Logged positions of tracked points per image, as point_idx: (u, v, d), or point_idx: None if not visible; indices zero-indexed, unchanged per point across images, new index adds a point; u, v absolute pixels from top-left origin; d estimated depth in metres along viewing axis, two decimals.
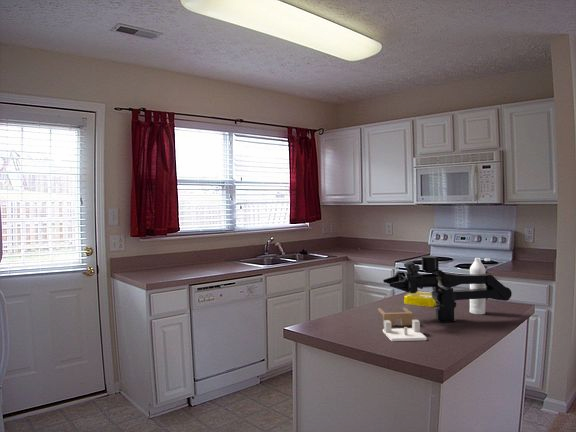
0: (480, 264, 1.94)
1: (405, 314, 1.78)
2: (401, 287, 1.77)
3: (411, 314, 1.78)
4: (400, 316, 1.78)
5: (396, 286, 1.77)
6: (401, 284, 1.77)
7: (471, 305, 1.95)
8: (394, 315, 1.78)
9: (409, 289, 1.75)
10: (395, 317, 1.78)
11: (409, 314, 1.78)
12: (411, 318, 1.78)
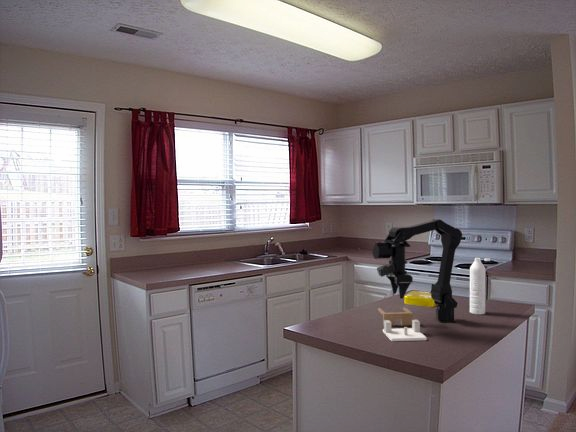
0: (480, 264, 1.94)
1: (405, 314, 1.78)
2: (405, 288, 1.72)
3: (411, 314, 1.78)
4: (400, 316, 1.78)
5: (403, 292, 1.73)
6: (401, 287, 1.72)
7: (471, 305, 1.95)
8: (394, 315, 1.78)
9: (408, 282, 1.70)
10: (395, 317, 1.78)
11: (409, 314, 1.78)
12: (411, 318, 1.78)
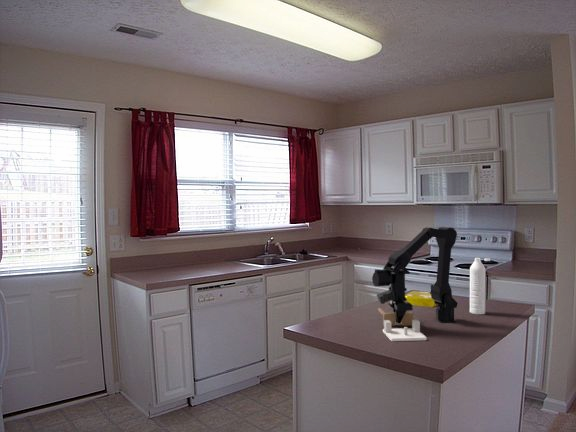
0: (480, 264, 1.94)
1: (405, 314, 1.78)
2: (402, 313, 1.76)
3: (411, 314, 1.78)
4: None
5: (400, 317, 1.77)
6: (399, 312, 1.76)
7: (471, 305, 1.95)
8: (394, 315, 1.78)
9: None
10: (395, 317, 1.78)
11: (409, 314, 1.78)
12: (411, 318, 1.78)
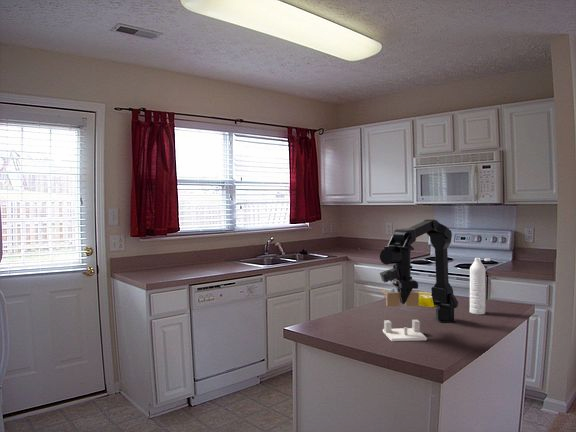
0: (480, 264, 1.94)
1: (410, 294, 1.65)
2: (407, 292, 1.64)
3: (416, 294, 1.65)
4: None
5: (405, 297, 1.64)
6: (403, 292, 1.64)
7: (471, 305, 1.95)
8: (398, 295, 1.65)
9: None
10: (399, 297, 1.65)
11: (414, 294, 1.65)
12: (416, 298, 1.65)
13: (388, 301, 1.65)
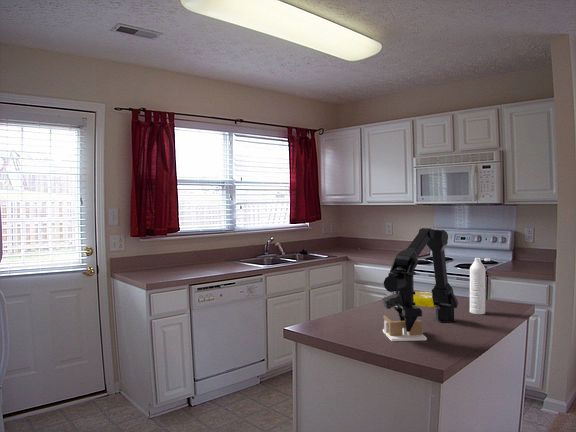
0: (480, 264, 1.94)
1: None
2: (412, 320, 1.58)
3: (419, 323, 1.62)
4: None
5: (410, 325, 1.59)
6: (408, 320, 1.58)
7: (471, 305, 1.95)
8: (401, 324, 1.62)
9: None
10: (402, 326, 1.62)
11: (418, 323, 1.62)
12: (420, 327, 1.62)
13: (391, 331, 1.61)
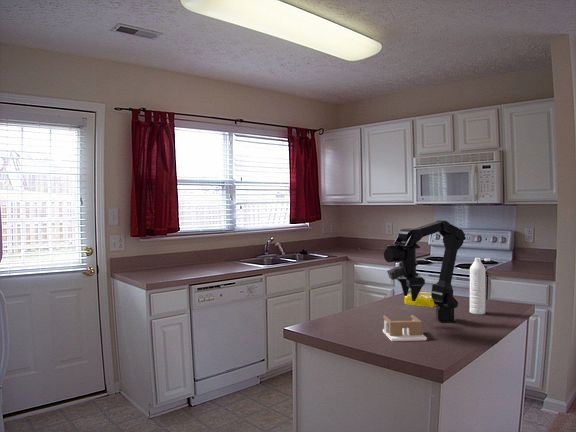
0: (480, 264, 1.94)
1: (413, 323, 1.62)
2: (417, 290, 1.70)
3: (419, 323, 1.62)
4: (408, 325, 1.62)
5: (415, 295, 1.70)
6: (414, 290, 1.70)
7: (471, 305, 1.95)
8: (401, 324, 1.62)
9: None
10: (402, 326, 1.62)
11: (418, 323, 1.62)
12: (420, 327, 1.62)
13: (391, 331, 1.61)
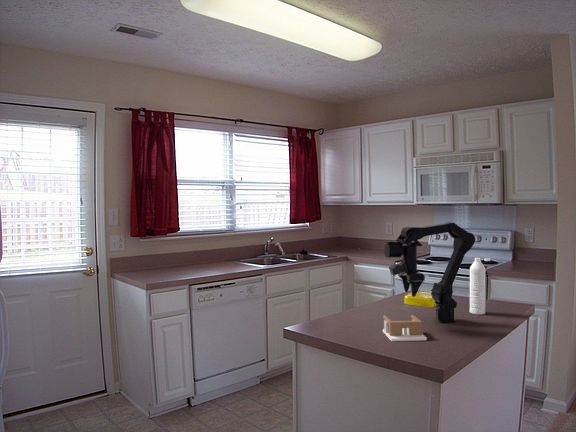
0: (480, 264, 1.94)
1: (413, 323, 1.62)
2: (417, 286, 1.76)
3: (419, 323, 1.62)
4: (408, 325, 1.62)
5: (415, 290, 1.76)
6: (414, 285, 1.76)
7: (471, 305, 1.95)
8: (401, 324, 1.62)
9: None
10: (402, 326, 1.62)
11: (418, 323, 1.62)
12: (420, 327, 1.62)
13: (391, 331, 1.61)
